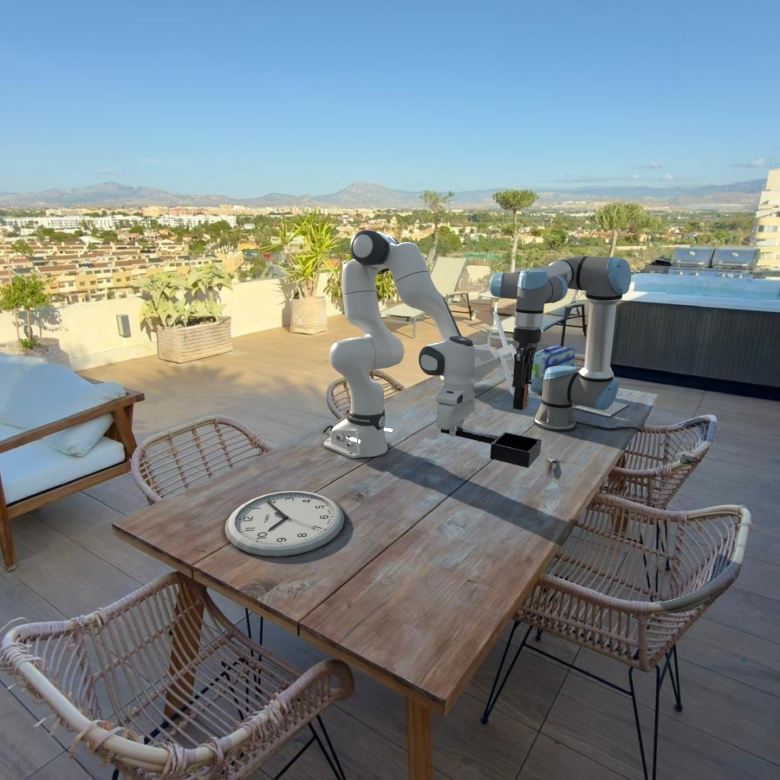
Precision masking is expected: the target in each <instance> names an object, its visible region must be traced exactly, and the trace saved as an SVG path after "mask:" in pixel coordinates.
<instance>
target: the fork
mask: <svg viewBox="0 0 780 780" xmlns="http://www.w3.org/2000/svg"><path fill="white" fill-rule="evenodd" d="M547 460H548V461H549V464H548V475H550V474H551V471H552V469H553V462H556V460H557V453H555V452H553V450H550V449H549V450H548V456H547Z"/></svg>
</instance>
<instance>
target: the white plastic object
mask: <svg viewBox="0 0 780 780" xmlns="http://www.w3.org/2000/svg"><path fill="white" fill-rule="evenodd" d="M492 315H493V319H494V321H495V324H496V325H495V326H496V328H497V332H498V335H499V338H500V342H501V345H502V347H500V348H498V349H496V350H495V349H493V348H492V347H491V346H490V344H489V343H488V342H487V343H483V344H479V345H474V347H475V369H474V372H473V380H474V384H477V383H480V382H482V381H484V378H485V377H486V376H487V375H489V374H490V373H492V372H494V371H495V370H496V369H497V368H499V367H500V366H502V370H503V373H504V376H505V380H506V383H507V386H508V390H509V393H510V394H511V395H512V397H514V391H515V387H512V385H513V377H512V375H511V371H510V369H509V365H508V361H510V360H513V361H514V354H517V353H516V352H517V348H516V347H515V346H514V345H513V343H511V344H508V341H507V337H506V334H505V331H504V328H503V325H502V321H501V318H500V315H499V314H498V312H497V311H496V310H495V311H492ZM440 381H442V383H444V377H443V376H440ZM528 396H531V395H530V389H528Z"/></svg>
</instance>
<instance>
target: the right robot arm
mask: <svg viewBox="0 0 780 780" xmlns="http://www.w3.org/2000/svg"><path fill="white" fill-rule="evenodd" d="M631 283H632V270H631V266H630V264H629V261H627V260H626V259H624V258H621V257H614V256H588V255H576V256H571V257H566V258H563V259H556V260H554V261H552V262H551V263H550V264H548V265H544V266H539V267H534V268H528V269H523V270H519V271H514V272H504V271H503V272H495V273H494V274H493V275H492V276H491V278H490V280H489V287H488V288H489V292H490V294H491V295H492V297H494V298H500V299H508V300H516V303H515V304H516V305H515V313H513V318H514V326H515V327H514V328H513V334H512V340H513V341H514V342H517V343H518V347H517V348H516V353H517V354H514V360H513V364H514V365H513V375H512V381H513V385H512V387H514V388H515V391H514V396H513V401H512V410H518V411H523V402H524V392H525V388H524V384H526V385H528V388H527V397H526V407H527V405H528V390H529V388H530V384H532V382H531V379H532V370H533V363H534V355H535V353H536V350H537V347H536V346H534V344H539V343H540V342H541V340H542V327H543V323H544V314H545V313H544V312H545V305H546V304H555V303H558V302H560V301H562V300H563V299H564V298H566V296H567V294H568V290H575V291H583V292H585V299H586V300H587V301H588V302H589V308H588V320H587V331H586V342H585V351H584V352H585V353H584V363H583V365H584V366H583V367H582V368H581V369H579V371H578V368H577V367H576V366H574V367H573V366H554V367H550V368H548V369H546V371H545V375H544V379H543V380H544V381H543V391H542V393H541V402H540V405H539V407H538V410H537V411H536V413H535V416H534V424H535V425H536V426H537V427H539V428H542V429H544V430H549V431H556V432H567V431H572V430H574V429H575V428H576V425H580V426H586V427H591V428H597V429H600V430H601V429H602V430H606V431H616V430H636V431H637V432H639V433H640V434H641V433H642V434H643V431H642V429H640V428H639V427H637V426H617V427H606V426H602V425H596V424H591V423H586V422H581V421H576V418H575V417H576V416H575V413H574V407H573V405H574V404H575V405H577V406H578V405H582V406H586V407H590V408H593V409H599V410H606V409H608V408H609V407H610V406H611V405H612V403H613V401H614V402H615V399H616V397H617V395H618V391H619V389H620V388H619V387H620V384H619V381H618V380H616V379H614V375H615V374H614V372H613V370H612V369H611V359H612V352H613V341H614V333H615V323H616V313H617V304H618V303H619V302H620V301H621V300H623V295H626V294H628V292H629V290H630V287H631Z"/></svg>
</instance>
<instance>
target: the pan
mask: <svg viewBox="0 0 780 780" xmlns="http://www.w3.org/2000/svg"><path fill="white" fill-rule="evenodd" d="M455 428H456V430H457V435H456V436H455V437H458V438H463V439H467V440H471V441H476V442H479V443H485V444H489V445H490V454H489V460H495V461H498V462H502V463H506V464H510V465H514V466H519V467H522V468H527V469H529V468H530V467H531V466H532V464H533V463H534V462H535V461H536V460H537V459H538V457H539V456H540V455H541V449H542V439H539V438H535V437H529V436H525V435H520V434H516V433H512V432H507V431H504V432H503V433H502V434H500V435H494V434H490V433H485V432H482V431H478V430H477V431H476V430H472V429H467V428H463V427H462V428H459V427H455ZM440 433H441V434H446V435H449V434H450V431H449V430H445V429H440Z"/></svg>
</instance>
